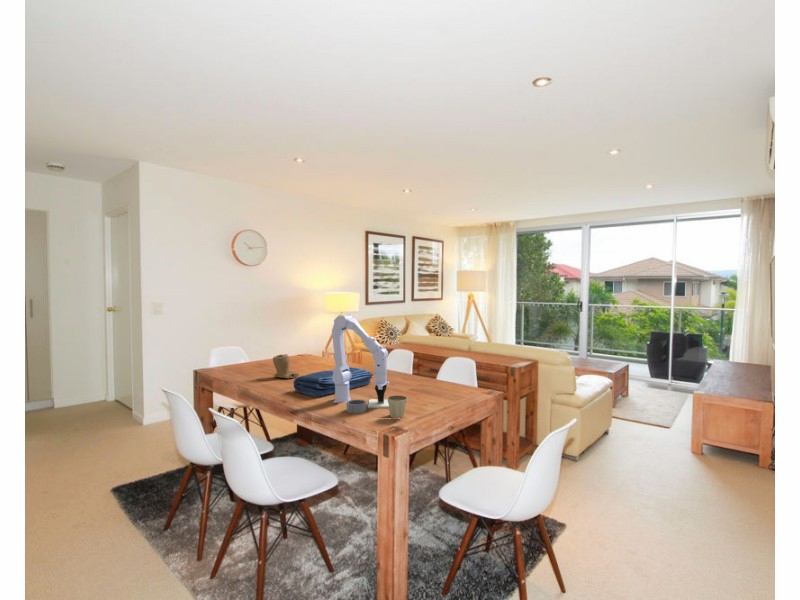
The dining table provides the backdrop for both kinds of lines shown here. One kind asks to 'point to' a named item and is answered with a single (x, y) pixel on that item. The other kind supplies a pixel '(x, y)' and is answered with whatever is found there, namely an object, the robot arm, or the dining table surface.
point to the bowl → (356, 406)
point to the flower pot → (397, 405)
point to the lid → (378, 403)
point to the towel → (329, 382)
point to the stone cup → (283, 367)
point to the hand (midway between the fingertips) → (380, 400)
